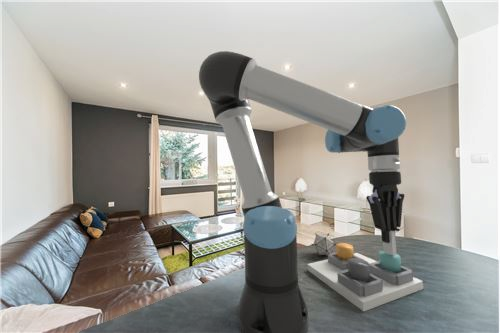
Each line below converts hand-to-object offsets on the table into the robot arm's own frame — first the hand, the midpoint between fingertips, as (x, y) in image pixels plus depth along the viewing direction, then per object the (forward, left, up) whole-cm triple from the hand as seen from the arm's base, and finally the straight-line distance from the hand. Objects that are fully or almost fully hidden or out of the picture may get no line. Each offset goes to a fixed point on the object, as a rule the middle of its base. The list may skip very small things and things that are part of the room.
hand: (389, 253), depth 53 cm
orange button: (-6, +10, -4) cm, 12 cm away
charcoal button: (-12, 0, -4) cm, 13 cm away
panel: (-6, +5, -8) cm, 11 cm away
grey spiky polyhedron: (-4, +22, -9) cm, 24 cm away
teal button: (0, 0, -4) cm, 4 cm away
